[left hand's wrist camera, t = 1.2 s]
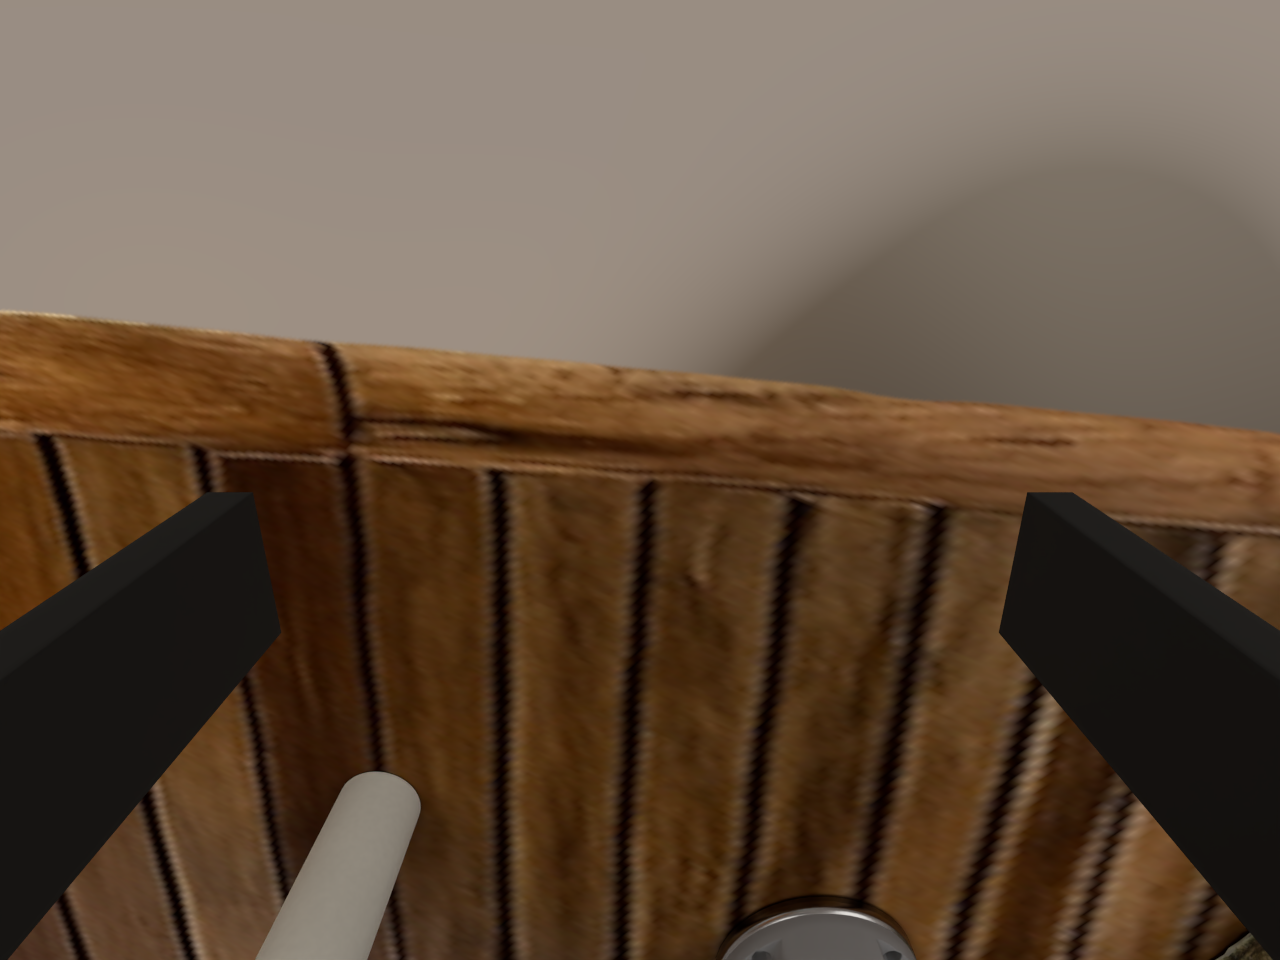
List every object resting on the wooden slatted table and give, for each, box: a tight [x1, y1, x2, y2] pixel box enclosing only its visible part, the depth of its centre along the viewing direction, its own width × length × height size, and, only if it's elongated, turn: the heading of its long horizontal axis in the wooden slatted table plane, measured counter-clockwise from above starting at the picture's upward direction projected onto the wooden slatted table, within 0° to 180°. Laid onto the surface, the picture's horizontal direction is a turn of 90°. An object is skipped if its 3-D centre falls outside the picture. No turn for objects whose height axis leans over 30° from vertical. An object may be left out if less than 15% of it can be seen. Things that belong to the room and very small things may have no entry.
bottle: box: [255, 772, 421, 960], centre depth 41 cm, size 6×6×19 cm
